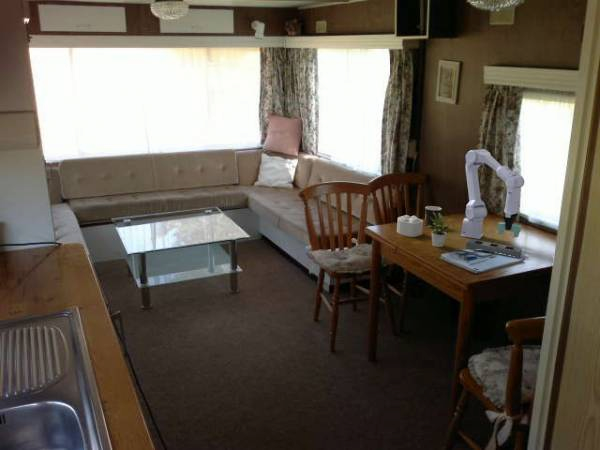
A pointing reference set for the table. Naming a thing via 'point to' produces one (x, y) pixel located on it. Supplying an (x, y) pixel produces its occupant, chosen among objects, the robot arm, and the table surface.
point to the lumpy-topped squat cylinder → (409, 226)
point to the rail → (494, 247)
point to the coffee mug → (431, 215)
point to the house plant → (438, 231)
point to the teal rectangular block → (514, 228)
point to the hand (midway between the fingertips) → (508, 228)
